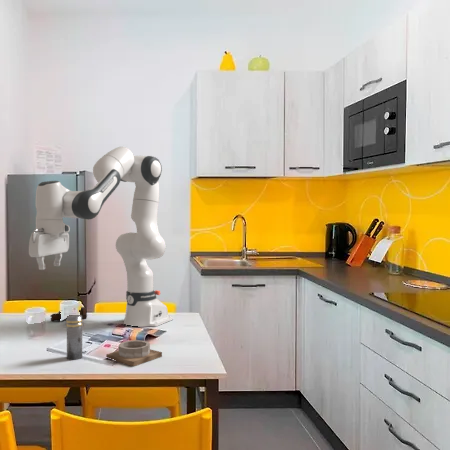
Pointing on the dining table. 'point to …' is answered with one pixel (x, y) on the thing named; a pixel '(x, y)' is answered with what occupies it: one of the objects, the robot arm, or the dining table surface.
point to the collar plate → (134, 360)
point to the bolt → (58, 315)
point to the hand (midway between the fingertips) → (49, 267)
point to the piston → (74, 337)
